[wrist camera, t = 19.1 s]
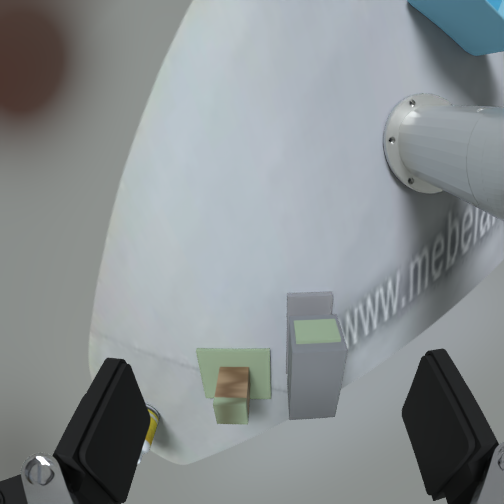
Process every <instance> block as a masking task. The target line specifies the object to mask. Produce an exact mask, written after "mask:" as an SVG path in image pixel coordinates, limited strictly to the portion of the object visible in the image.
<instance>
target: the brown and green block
mask: <svg viewBox="0 0 504 504" xmlns="http://www.w3.org/2000/svg"><path fill="white" fill-rule="evenodd" d="M249 401H250V375H249V367H220V368H219V373H218V379H217V385H216V391H215V396H214V402H213V407H214V412H215V416H216V421H217V424H248V417H249Z"/></svg>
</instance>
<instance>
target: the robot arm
mask: <svg viewBox="0 0 504 504" xmlns="http://www.w3.org/2000/svg"><path fill="white" fill-rule="evenodd" d="M409 101H410V102H411V105H410V104H409ZM389 138H391V142H389ZM383 143H384V152H385V155H386V159H387V162H388V164H389V166H390V168H391V170H392V171H393V173H394V174H395V176H396V177H397V178H398V179H399V180H400V181H401V182H402V183H403V184H405V185H406V186H408V187H409V188H411V189H413V190H415V191H417V192H421V193H427V194H434V193H439V192H442V191H446V192H448V193H450V194H452V195H454V196H456V197H458V198H460V199H462V200H464V201H466V202H468V203H470V204H472V205H473V206H475V207H477V208H479V209H481V210H483V211H485V212H487V213H488V214H490V215H492V216H494V217H496V218H497V219H500V220H502V221H504V107H492V106H453V105H452V104H451V103H450V102H448V101H447V100H445V99H444V98H442V97H440V96H437V95H433V94H424V93H422V94H415V95H412V96H409V97H407V98H405V99H403V100H402V101H400V102H399V103H398V104H397V105H396V106H395V107H394V109H393V110H392V111H391V113H390V114H389V117H388V119H387V121H386V125H385V129H384V139H383ZM408 179H410V180H409V181H408ZM402 418H403V421H404V423H405V426H406V429H407V432H408V435H409V438H410V441H411V444H412V447H413V450H414V453H415V456H416V459H417V462H418V466H419V469H420V472H421V475H422V479H423V481H424V485H425V488H426V492H427V494H428V495H432V498H433V501H436V500H439V499H442V498H445V497H446V500H447V503H448V504H504V442H502V443H500V444H498V442H497V440H496V438H495V436H494V434H493V432H492V430H491V428H490V426H489V424H488V422H487V420H486V418H485V417H484V414H483V413H482V411H481V409H480V407H479V405H478V404H477V402H476V400H475V398H474V396H473V395H472V393H471V391H470V389H469V388H468V386H467V385H466V383H465V381H464V379H463V378H462V376H461V374H460V373H459V371H458V369H457V368H456V366H455V365H454V363H453V361H452V360H451V358H450V356H449V355H448V353H447V351H446V350H445V349H437V350H431V351H428V352H426V354H425V356H423V357H422V358H421V360H420V363H419V366H418V369H417V372H416V374H415V377H414V380H413V383H412V386H411V388H410V391H409V393H408V396H407V398H406V401H405V404H404V406H403V408H402ZM150 422H151V417H150V413H149V411H148V409H147V406H146V404H145V402H144V399H143V397H142V394H141V392H140V389H139V387H138V384H137V381H136V379H135V376H134V373H133V371H132V368H131V366H130V365H129V364H127V363H126V361H125V360H124V359H116V358H107V359H106V360H105V361H104V363H103V364H102V366H101V368H100V370H99V371H98V373H97V375H96V377H95V379H94V380H93V382H92V384H91V386H90V388H89V389H88V391H87V393H86V394H85V395H84V397H83V398H82V400H81V402H80V404H79V405H78V407H77V409H76V411H75V413H74V415H73V417H72V419H71V420H70V422H69V424H68V426H67V428H66V430H65V432H64V434H63V436H62V438H61V440H60V442H59V444H58V446H57V448H56V450H55V452H54V454H53V456H51V455H49V454H47V453H36V454H33V455H31V456H29V457H28V458H27V459H26V460H25V462H24V463H23V465H22V468H21V474H20V475H17V476H15V477H12V478H9V479H6V480H3V481H0V504H121V503H124V502H125V501H126V499H127V496H128V493H129V490H130V486H131V483H132V480H133V477H134V473H135V470H136V467H137V464H138V460H139V457H140V454H141V451H142V448H143V445H144V442H145V439H146V435H147V432H148V429H149V426H150Z"/></svg>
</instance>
